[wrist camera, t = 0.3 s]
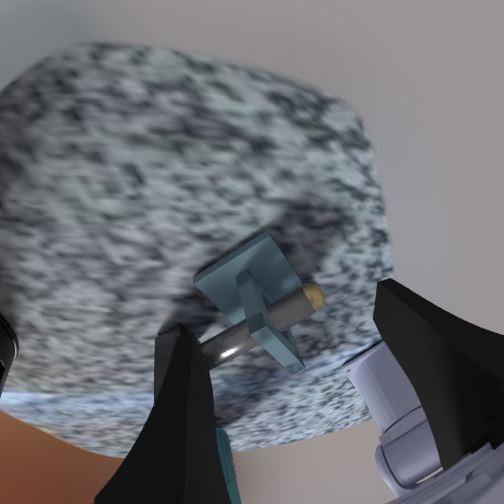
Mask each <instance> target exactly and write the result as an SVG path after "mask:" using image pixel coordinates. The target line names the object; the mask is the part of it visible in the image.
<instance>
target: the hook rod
mask: <svg viewBox="0 0 504 504" xmlns="http://www.w3.org/2000/svg"><path fill="white" fill-rule="evenodd" d="M323 303H324V293H323V291H322V289H321V288H320V287H319V286H317V285H316V284H313V283H306V284H303V285H301V286H299V287H298V288H296V289H294V290H293V291H291V292H289V293H288V294H286V295H284V296H283V297H281V298H279V299H278V300H276V301H274V302H273V303H271V304H269V305H268V306H266V309H267V312H268V315H269V318H270V320H271V323H272V324H273V325H274V326H275V327H276V328H277V330H278V331H279V332H280V333H281V332H283V331H285V330H286V329H288V328H290V327H292V326H293V325H295V324H297V323H298V322H300V321H302V320H304V319H305V318H307V317H309V316H310V315H312V314H314V313H315V312H317V311H318V310H320V308H321V307H322V306H323ZM185 334H190V332H188V331H187V330H186V329H185V328H184V327H183V326H181V325H180V324H179V325H177V326H175V327H173V328H172V329H170V330H168V331H167V332H165V333H163V334H162V335H160V336H158V337H156V338H155V359H154V403H155V400H156V398H157V395H158V393H159V390H160V388H161V385H162V382H163V379H164V376H165V373H166V370H167V367H168V364H169V361H170V357H171V354H172V350H173V347H174V343H175V339H176V337H177V336H181V335H185ZM195 338H196V337H195ZM196 340H197V343H198V345H199V347H200V349H201V351H202V354H203V356H204V358H205V360H206V362H207V365H208V368H209V371H210V370H212V369H214V368H216V367H218V366H220V365H222V364H224V363H226V362H228V361H230V360H232V359H234V358H235V357H237V356H239V355H241V354H243V353H245V352H247V351H249V350H250V349H252V348H254V347H256V346H258V345H260V344H259V343H258V342H257V341H256V340H255V339H254V338H253V337H252V336H251V335H250V332H249V328H248V324H247V321H246V319H244V320H242V321H240V322H239V323H237V324H235V325H233V326H232V327H230V328H228V329H226V330H225V331H223V332H221V333H219V334H217V335H216V336H214V337H212V338H210V339H208V340H207V341H205V342H203V343H201V344H200V341H199V340H198V339H197V338H196Z"/></svg>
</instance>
